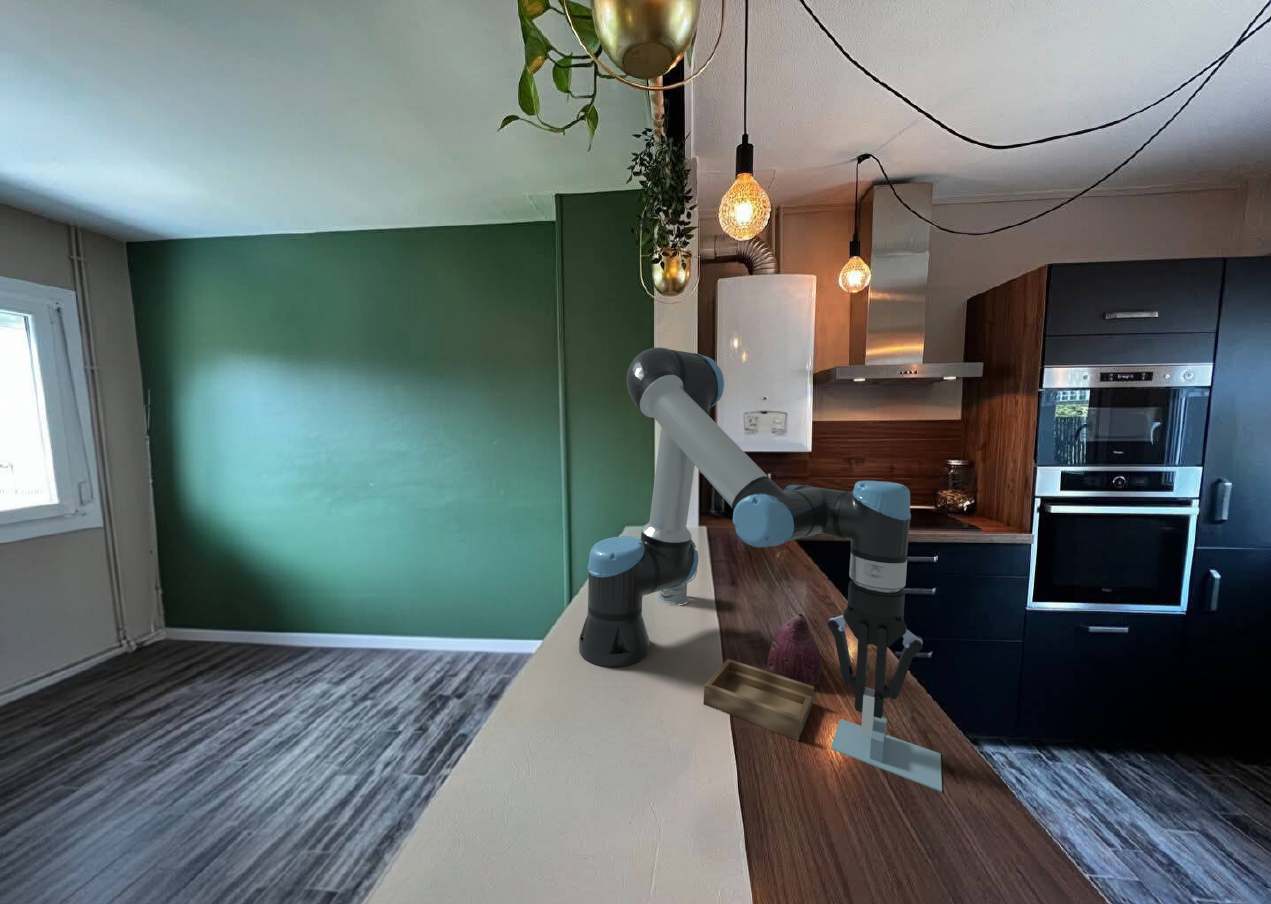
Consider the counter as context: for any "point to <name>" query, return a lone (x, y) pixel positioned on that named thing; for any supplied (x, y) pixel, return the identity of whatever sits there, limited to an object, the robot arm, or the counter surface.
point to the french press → (674, 594)
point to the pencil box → (760, 698)
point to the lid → (889, 753)
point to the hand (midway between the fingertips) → (867, 733)
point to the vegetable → (795, 652)
